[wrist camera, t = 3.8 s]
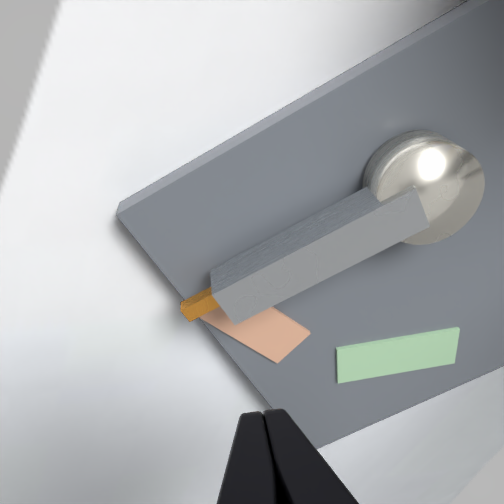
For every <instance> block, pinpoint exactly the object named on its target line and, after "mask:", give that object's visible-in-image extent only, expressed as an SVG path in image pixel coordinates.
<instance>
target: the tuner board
mask: <svg viewBox="0 0 504 504" xmlns="http://www.w3.org/2000/svg"><path fill="white" fill-rule="evenodd" d="M419 129H422V130H430V131H434V132H436V133H439V134H441V135H442V136H444V137H446V138H447V139H449V140H450V141H452V142H454V143H455V144H457V145H459V146H460V147H462V148H463V149H465V150H467V151H468V152H470V153H471V154H472V155H473V156H475V158H476V159H477V160H478V161H479V163H480V165H481V167H482V170H483V173H484V179H485V186H484V193H483V197H482V200H481V202H480V204H479V206H478V208H477V210H476V212H475V213H474V215H473V216H472V217H471V219H470V220H469V221H468V222H467V223H466V224H465V225H464V226H463V227H462V228H461V229H460V230H458V231H457V232H456V233H454V234H453V235H451V236H449V237H447V238H445V239H443V240H441V241H438V242H435V243H431V244H425V245H413V244H407V243H404V242H401V241H400V242H398V243H396V244H394V245H392V246H390V247H388V248H386V249H385V250H383V251H381V252H379V253H377V254H375V255H373V256H371V257H369V258H367V259H365V260H363V261H361V262H359V263H357V264H355V265H353V266H351V267H349V268H347V269H345V270H343V271H341V272H339V273H337V274H335V275H333V276H331V277H329V278H327V279H325V280H323V281H321V282H319V283H317V284H315V285H313V286H312V287H310V288H308V289H306V290H304V291H302V292H300V293H298V294H296V295H294V296H292V297H290V298H288V299H286V300H284V301H282V302H280V303H278V304H276V305H274V306H272V307H270V308H268V309H266V310H264V311H262V312H260V313H258V314H256V315H254V316H252V317H250V318H248V319H246V320H244V321H242V322H240V323H238V324H237V325H234V324H233V322H232V321H231V320H230V318H229V317H228V316H227V314H226V313H225V312H224V310H223V309H222V308H221V306H220V307H218V308H216V309H214V310H212V311H210V312H208V313H206V314H204V315H202V316H200V317H199V318H200V320H201V321H202V322H203V323H204V325H205V326H206V327H207V328H208V329H209V331H210V332H211V333H212V334H213V336H214V337H215V338H216V339H217V341H218V342H219V343H220V344H221V346H222V347H223V348H224V349H225V350H226V352H227V353H228V354H229V355H230V357H231V358H232V359H233V360H234V362H235V363H236V364H237V365H238V367H239V368H240V369H241V370H242V371H243V373H244V374H245V375H246V376H247V378H248V379H249V380H250V381H251V383H252V384H253V385H254V386H255V388H256V389H257V390H258V391H259V392H260V394H261V395H262V396H263V397H264V399H265V400H266V401H267V402H268V404H269V405H270V406H271V407H272V409H279V408H282V409H284V410H286V411H287V413H288V414H289V415H290V416H291V418H292V419H293V420H294V421H295V423H296V424H297V425H298V427H299V428H300V429H301V430H302V432H303V433H304V434H305V436H306V437H307V438H308V439H309V441H310V442H311V443H312V444H313V446H314V447H315V448H316V449H318V448H321V447H323V446H325V445H327V444H330V443H332V442H334V441H336V440H339V439H341V438H343V437H345V436H348V435H350V434H352V433H354V432H356V431H359V430H361V429H363V428H365V427H368V426H370V425H372V424H374V423H377V422H379V421H381V420H383V419H386V418H388V417H390V416H392V415H395V414H397V413H399V412H401V411H404V410H406V409H408V408H410V407H413V406H415V405H417V404H419V403H422V402H424V401H426V400H428V399H431V398H433V397H435V396H437V395H440V394H442V393H444V392H446V391H449V390H451V389H453V388H455V387H458V386H460V385H462V384H464V383H467V382H469V381H471V380H473V379H476V378H478V377H480V376H482V375H485V374H487V373H489V372H491V371H494V370H496V369H498V368H500V367H503V366H504V0H468V1H466V2H465V3H463V4H461V5H460V6H458V7H456V8H454V9H453V10H451V11H449V12H447V13H446V14H444V15H442V16H441V17H439V18H437V19H435V20H434V21H432V22H430V23H429V24H427V25H425V26H423V27H422V28H420V29H418V30H416V31H415V32H413V33H411V34H410V35H408V36H406V37H404V38H403V39H401V40H399V41H397V42H396V43H394V44H392V45H391V46H389V47H387V48H385V49H384V50H382V51H380V52H379V53H377V54H375V55H373V56H372V57H370V58H368V59H366V60H365V61H363V62H361V63H360V64H358V65H356V66H354V67H353V68H351V69H349V70H347V71H346V72H344V73H342V74H341V75H339V76H337V77H335V78H334V79H332V80H330V81H329V82H327V83H325V84H323V85H322V86H320V87H318V88H316V89H315V90H313V91H311V92H310V93H308V94H306V95H304V96H303V97H301V98H299V99H297V100H296V101H294V102H292V103H291V104H289V105H287V106H285V107H284V108H282V109H280V110H279V111H277V112H275V113H273V114H272V115H270V116H268V117H266V118H265V119H263V120H261V121H260V122H258V123H256V124H254V125H253V126H251V127H249V128H247V129H246V130H244V131H242V132H241V133H239V134H237V135H235V136H234V137H232V138H230V139H229V140H227V141H225V142H223V143H222V144H220V145H218V146H216V147H215V148H213V149H211V150H210V151H208V152H206V153H204V154H203V155H201V156H199V157H198V158H196V159H194V160H192V161H191V162H189V163H187V164H185V165H184V166H182V167H180V168H179V169H177V170H175V171H173V172H172V173H170V174H168V175H166V176H165V177H163V178H161V179H160V180H158V181H156V182H154V183H153V184H151V185H149V186H148V187H146V188H144V189H142V190H141V191H139V192H137V193H135V194H134V195H132V196H130V197H129V198H127V199H125V200H123V201H122V202H120V204H119V207H118V210H117V213H116V216H117V217H118V218H119V219H120V221H121V222H122V223H123V224H124V226H125V227H126V228H127V229H128V231H129V232H130V233H131V234H132V236H133V237H134V238H135V239H136V240H137V242H138V243H139V244H140V245H141V247H142V248H143V249H144V250H145V252H146V253H147V254H148V255H149V257H150V258H151V259H152V260H153V261H154V263H155V264H156V265H157V266H158V268H159V269H160V270H161V271H162V273H163V274H164V275H165V276H166V278H167V279H168V280H169V281H170V282H171V284H172V285H173V286H174V287H175V289H176V290H177V291H178V292H179V294H180V295H181V296H182V297H183V299H184V300H186V299H188V298H190V297H192V296H194V295H196V294H197V293H199V292H201V291H203V290H205V289H207V288H209V287H211V276H210V270H211V269H213V268H215V267H217V266H219V265H220V264H222V263H224V262H226V261H228V260H230V259H232V258H234V257H235V256H237V255H239V254H241V253H243V252H245V251H247V250H249V249H250V248H252V247H254V246H256V245H258V244H260V243H262V242H264V241H265V240H267V239H269V238H271V237H273V236H275V235H277V234H279V233H280V232H282V231H284V230H286V229H288V228H290V227H292V226H294V225H295V224H297V223H299V222H301V221H303V220H305V219H307V218H309V217H310V216H312V215H314V214H316V213H318V212H320V211H322V210H324V209H325V208H327V207H329V206H331V205H333V204H335V203H337V202H339V201H340V200H342V199H344V198H346V197H348V196H350V195H352V194H354V193H355V192H357V191H359V190H361V189H362V183H363V176H364V172H365V169H366V167H367V165H368V163H369V161H370V159H371V158H372V156H373V155H374V153H375V152H376V151H377V150H378V149H379V148H380V147H381V146H382V145H383V144H384V143H385V142H387V141H388V140H389V139H391V138H393V137H394V136H396V135H399V134H401V133H404V132H407V131H411V130H419Z"/></svg>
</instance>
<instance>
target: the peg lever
mask: <svg viewBox="0 0 504 504" xmlns="http://www.w3.org/2000/svg"><path fill="white" fill-rule="evenodd" d="M484 186H485V179H484V173H483V170H482V167H481V165H480V163H479V161H478V160H477V159H476V158H475V156H473V155H472V154H471V153H470V152H468V151H467V150H465V149H463V148H462V147H460V146H459V145H457V144H455V143H454V142H452V141H450V140H449V139H447V138H446V137H444V136H442V135H441V134H439V133H436V132H434V131H430V130H422V129H419V130H411V131H407V132H404V133H401V134H399V135H396V136H394V137H393V138H391V139H389V140H388V141H387V142H385V143H384V144H383V145H382V146H381V147H380V148H379V149H378V150H377V151H376V152H375V153H374V155H373V156H372V158H371V159H370V161H369V163H368V165H367V167H366V169H365V172H364V176H363V183H362V189H361V190H359V191H357V192H355V193H354V194H352V195H350V196H348V197H346V198H344V199H342V200H340V201H339V202H337V203H335V204H333V205H331V206H329V207H327V208H325V209H324V210H322V211H320V212H318V213H316V214H314V215H312V216H310V217H309V218H307V219H305V220H303V221H301V222H299V223H297V224H295V225H294V226H292V227H290V228H288V229H286V230H284V231H282V232H280V233H279V234H277V235H275V236H273V237H271V238H269V239H267V240H265V241H264V242H262V243H260V244H258V245H256V246H254V247H252V248H250V249H249V250H247V251H245V252H243V253H241V254H239V255H237V256H235V257H234V258H232V259H230V260H228V261H226V262H224V263H222V264H220V265H219V266H217V267H215V268H213V269H211V270H210V276H211V287H209V288H207V289H205V290H203V291H201V292H199V293H197V294H196V295H194V296H192V297H190V298H188V299H186V300H184V301H182V302H181V312H182V313H183V315H184V316H185V317H186V318H187V319H188V321H189V322H191V321H192V320H194V319H196V318H198V317H200V316H202V315H204V314H206V313H208V312H210V311H212V310H214V309H216V308H218V307H220V306H221V308H222V309H223V310H224V312H225V313H226V314H227V316H228V317H229V318H230V320H231V321H232V322H233V324H234V325H237V324H238V323H240V322H242V321H244V320H246V319H248V318H250V317H252V316H254V315H256V314H258V313H260V312H262V311H264V310H266V309H268V308H270V307H272V306H274V305H276V304H278V303H280V302H282V301H284V300H286V299H288V298H290V297H292V296H294V295H296V294H298V293H300V292H302V291H304V290H306V289H308V288H310V287H312V286H313V285H315V284H317V283H319V282H321V281H323V280H325V279H327V278H329V277H331V276H333V275H335V274H337V273H339V272H341V271H343V270H345V269H347V268H349V267H351V266H353V265H355V264H357V263H359V262H361V261H363V260H365V259H367V258H369V257H371V256H373V255H375V254H377V253H379V252H381V251H383V250H385V249H386V248H388V247H390V246H392V245H394V244H396V243H398V242H400V241H401V242H404V243H407V244H413V245H425V244H431V243H435V242H438V241H441V240H443V239H445V238H447V237H449V236H451V235H453V234H454V233H456V232H457V231H458V230H460V229H461V228H462V227H463V226H464V225H465V224H466V223H467V222H468V221H469V220H470V219H471V217H472V216H473V215H474V213H475V212H476V210H477V208H478V206H479V204H480V202H481V200H482V197H483V193H484Z"/></svg>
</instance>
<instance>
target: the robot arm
mask: <svg viewBox="0 0 504 504" xmlns="http://www.w3.org/2000/svg"><path fill="white" fill-rule="evenodd" d="M217 504H359V503H358V502H357V501H356V499H355V498H354V497H353V495H352V494H351V493H350V492H349V490H348V489H347V488H346V487H345V485H344V484H343V483H342V481H341V480H340V479H339V478H338V476H337V475H336V474H335V473H334V471H333V470H332V469H331V467H330V466H329V465H328V464H327V462H326V461H325V460H324V458H323V457H322V456H321V455H320V453H319V452H318V451H317V450H316V448H315V447H314V446H313V444H312V443H311V442H310V441H309V439H308V438H307V437H306V436H305V434H304V433H303V432H302V430H301V429H300V428H299V427H298V425H297V424H296V423H295V421H294V420H293V419H292V418H291V416H290V415H289V414H288V413H287V411H286V410H284V409H282V408H279V409H272V410H266V411H264V412H263V415H262V413H261V412H259V411H257V412H249V413H243V414H241V416H240V418H239V421H238V425H237V429H236V432H235V436H234V440H233V444H232V447H231V451H230V455H229V459H228V463H227V466H226V470H225V474H224V478H223V481H222V485H221V489H220V493H219V497H218V500H217Z"/></svg>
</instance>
